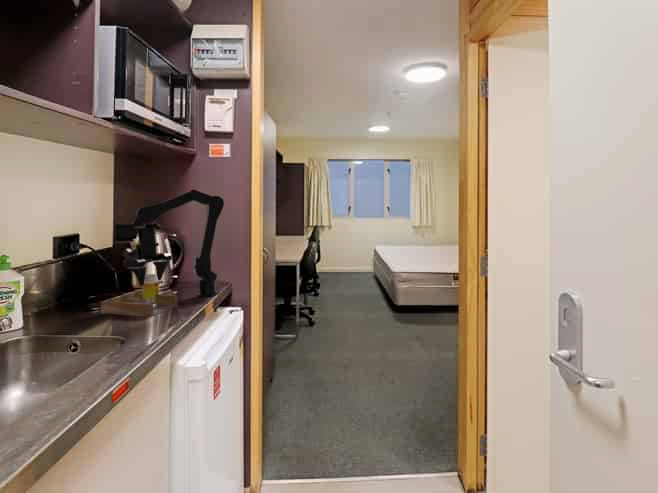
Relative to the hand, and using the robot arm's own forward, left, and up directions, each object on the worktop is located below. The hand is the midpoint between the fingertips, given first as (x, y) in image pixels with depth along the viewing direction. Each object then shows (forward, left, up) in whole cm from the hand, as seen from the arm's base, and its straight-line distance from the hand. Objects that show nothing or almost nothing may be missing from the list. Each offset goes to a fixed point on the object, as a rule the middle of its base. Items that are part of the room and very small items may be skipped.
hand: (150, 282), depth 142 cm
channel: (+7, +3, -7) cm, 11 cm away
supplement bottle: (0, 0, -8) cm, 8 cm away
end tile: (+10, +10, -7) cm, 16 cm away
